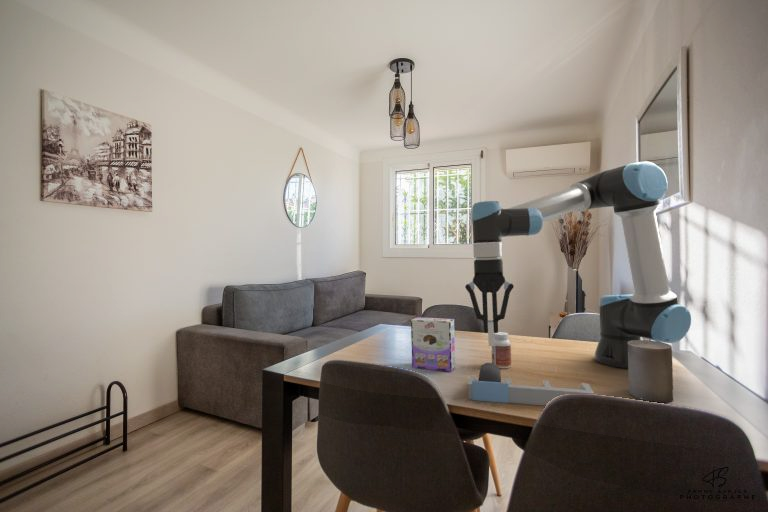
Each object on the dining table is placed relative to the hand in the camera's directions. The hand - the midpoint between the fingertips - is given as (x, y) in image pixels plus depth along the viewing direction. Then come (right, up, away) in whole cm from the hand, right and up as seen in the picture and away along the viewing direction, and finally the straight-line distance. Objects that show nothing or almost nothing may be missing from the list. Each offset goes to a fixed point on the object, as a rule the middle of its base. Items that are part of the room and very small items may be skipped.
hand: (491, 344), depth 104 cm
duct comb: (+8, -13, -5) cm, 16 cm away
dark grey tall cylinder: (0, -13, +3) cm, 14 cm away
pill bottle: (+10, -13, +24) cm, 29 cm away
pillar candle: (+41, -13, -4) cm, 43 cm away
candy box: (-13, -14, +24) cm, 30 cm away
